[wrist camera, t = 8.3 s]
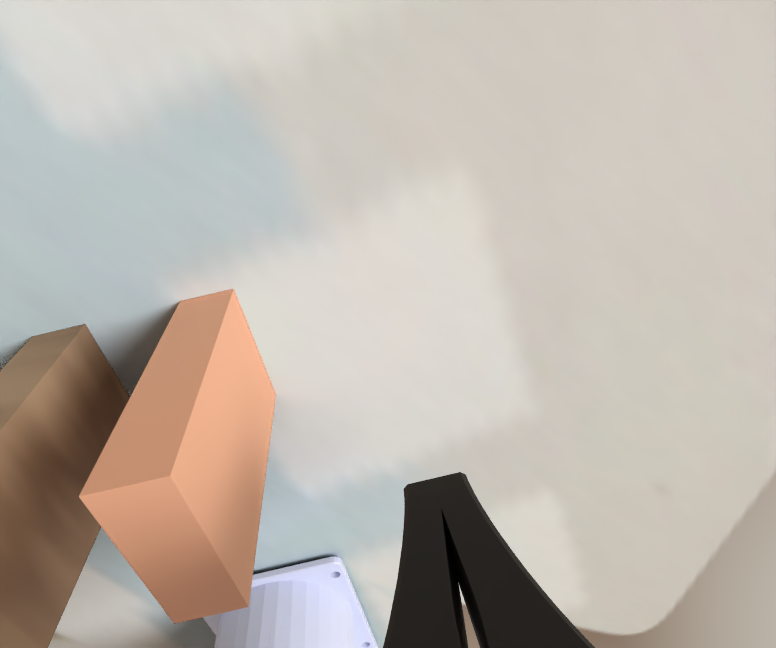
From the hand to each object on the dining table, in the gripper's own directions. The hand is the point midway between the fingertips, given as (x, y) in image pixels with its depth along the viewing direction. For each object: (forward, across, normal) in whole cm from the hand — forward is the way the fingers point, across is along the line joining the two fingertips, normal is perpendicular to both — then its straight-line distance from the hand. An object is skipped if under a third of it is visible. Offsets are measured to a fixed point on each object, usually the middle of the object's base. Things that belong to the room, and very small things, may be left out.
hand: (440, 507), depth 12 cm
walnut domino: (+9, +12, 0) cm, 15 cm away
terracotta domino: (+9, +6, 0) cm, 11 cm away
